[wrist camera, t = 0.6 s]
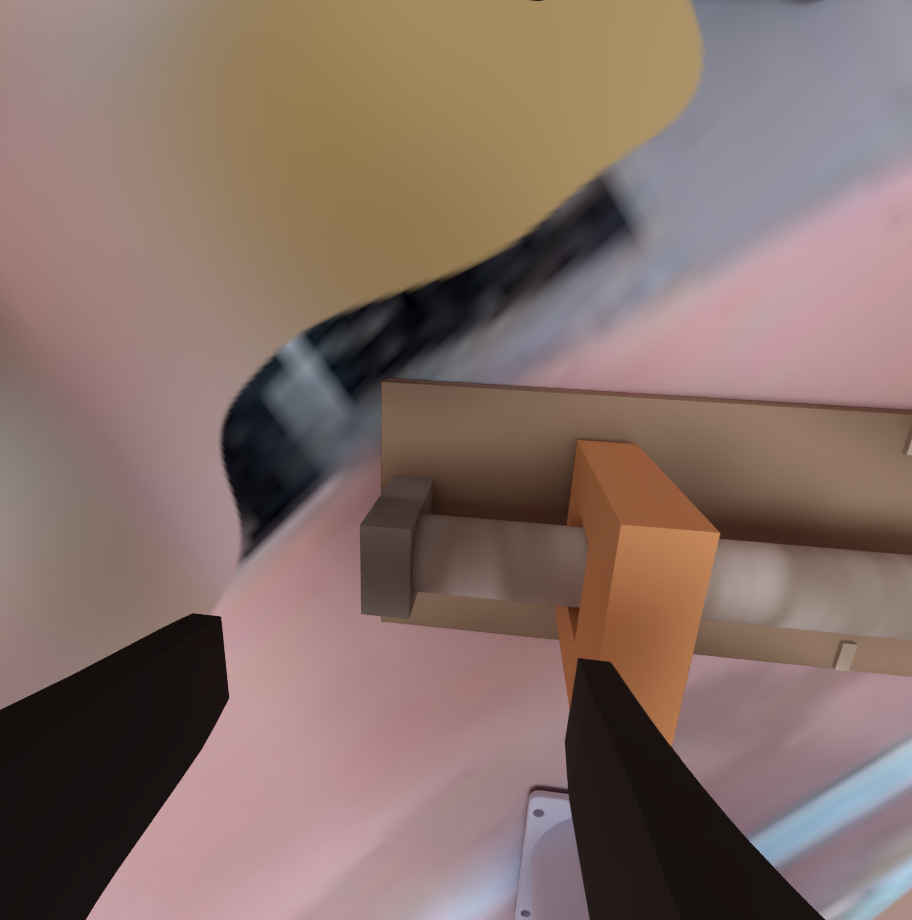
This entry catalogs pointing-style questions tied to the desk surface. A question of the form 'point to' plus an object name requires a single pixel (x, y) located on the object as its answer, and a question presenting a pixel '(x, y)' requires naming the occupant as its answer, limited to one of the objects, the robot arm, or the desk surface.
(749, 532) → the pipe stand
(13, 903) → the robot arm
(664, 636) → the orange rod slider
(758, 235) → the desk surface
